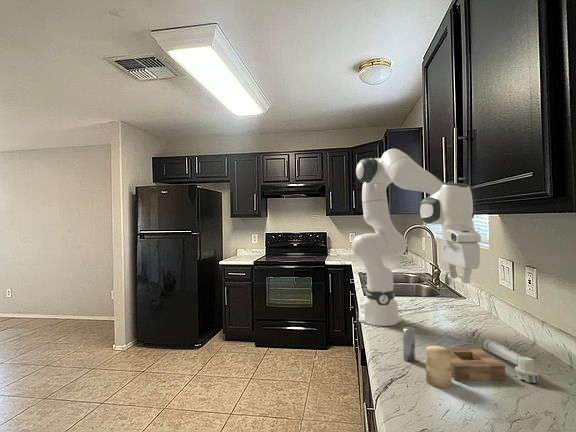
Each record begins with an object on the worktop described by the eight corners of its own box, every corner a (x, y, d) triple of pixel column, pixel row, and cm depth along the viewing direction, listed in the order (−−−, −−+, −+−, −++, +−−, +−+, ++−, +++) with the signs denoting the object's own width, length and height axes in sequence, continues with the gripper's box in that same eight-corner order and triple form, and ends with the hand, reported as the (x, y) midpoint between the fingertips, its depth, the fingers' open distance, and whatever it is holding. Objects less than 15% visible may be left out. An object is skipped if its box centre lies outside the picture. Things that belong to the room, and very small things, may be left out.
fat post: (422, 377, 98) (422, 345, 98) (445, 376, 98) (444, 345, 98) (431, 388, 92) (431, 355, 92) (455, 388, 91) (455, 354, 91)
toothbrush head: (494, 338, 118) (542, 357, 93) (496, 358, 117) (544, 383, 92) (479, 337, 118) (522, 357, 94) (480, 357, 117) (524, 382, 93)
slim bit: (402, 357, 112) (401, 327, 112) (412, 357, 112) (412, 326, 112) (405, 362, 108) (405, 330, 108) (417, 362, 108) (416, 330, 108)
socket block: (434, 359, 110) (434, 347, 110) (477, 359, 110) (477, 346, 110) (454, 380, 96) (454, 366, 96) (505, 380, 96) (504, 365, 96)
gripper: (435, 234, 115) (437, 275, 114) (459, 236, 95) (461, 286, 94) (455, 233, 114) (456, 275, 114) (483, 235, 94) (485, 286, 93)
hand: (459, 280), depth 104 cm, fingers open, 8 cm apart
